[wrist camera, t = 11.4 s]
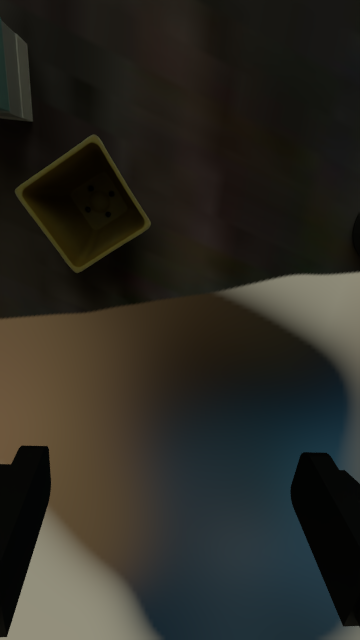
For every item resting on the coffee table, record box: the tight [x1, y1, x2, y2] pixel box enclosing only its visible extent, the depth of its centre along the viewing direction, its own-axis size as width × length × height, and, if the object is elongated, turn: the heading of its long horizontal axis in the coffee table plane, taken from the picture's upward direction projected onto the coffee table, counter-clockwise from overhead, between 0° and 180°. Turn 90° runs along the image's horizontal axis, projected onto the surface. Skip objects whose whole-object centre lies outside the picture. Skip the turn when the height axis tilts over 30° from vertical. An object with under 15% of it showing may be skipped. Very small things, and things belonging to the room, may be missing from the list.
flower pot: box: [15, 135, 151, 273], centre depth 34 cm, size 9×9×9 cm
